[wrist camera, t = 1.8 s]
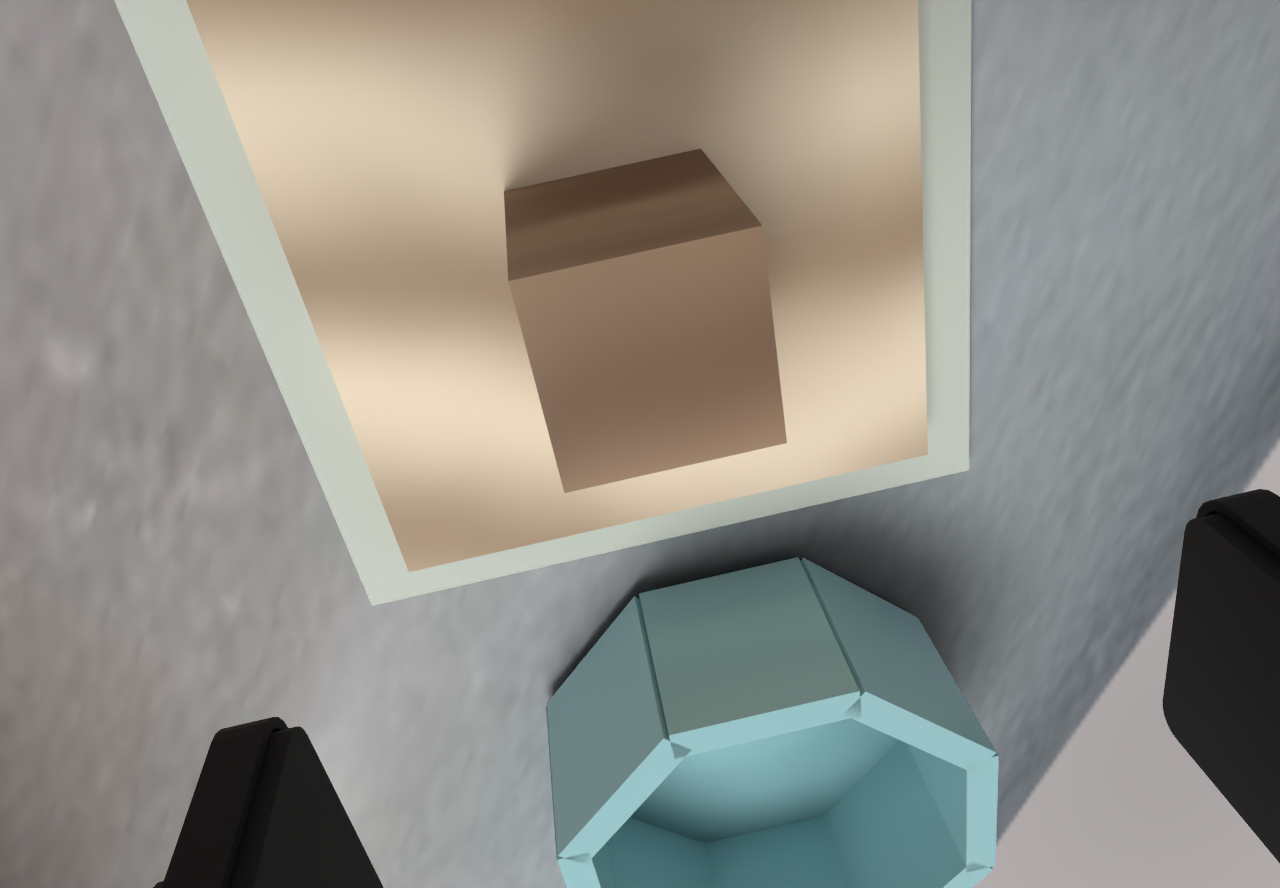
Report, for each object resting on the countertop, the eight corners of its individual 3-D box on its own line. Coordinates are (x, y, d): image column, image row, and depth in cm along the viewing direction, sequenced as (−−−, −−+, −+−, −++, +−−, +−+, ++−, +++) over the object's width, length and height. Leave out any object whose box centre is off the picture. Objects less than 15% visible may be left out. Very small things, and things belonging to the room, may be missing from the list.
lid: (198, -14, 17) (74, 29, 12) (893, -159, 18) (1059, -176, 13) (411, 547, 24) (391, 727, 19) (912, 434, 24) (1025, 581, 19)
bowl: (518, 608, 26) (524, 768, 21) (909, 519, 26) (1001, 658, 22) (597, 857, 32) (616, 1027, 27) (919, 781, 32) (993, 936, 27)
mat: (84, -91, 17) (75, -91, 16) (963, -273, 17) (972, -276, 17) (373, 595, 25) (371, 605, 25) (962, 462, 26) (968, 470, 25)
